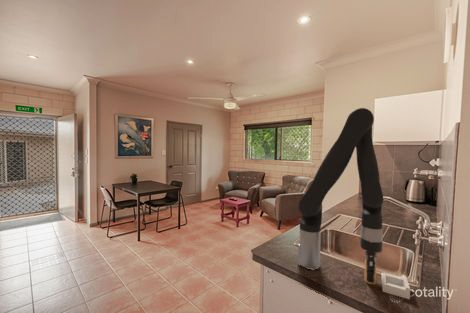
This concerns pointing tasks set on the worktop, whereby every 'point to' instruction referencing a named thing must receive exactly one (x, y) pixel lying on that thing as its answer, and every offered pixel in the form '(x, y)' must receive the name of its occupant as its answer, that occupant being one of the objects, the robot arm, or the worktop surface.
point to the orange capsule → (366, 275)
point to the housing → (395, 285)
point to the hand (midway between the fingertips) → (370, 278)
